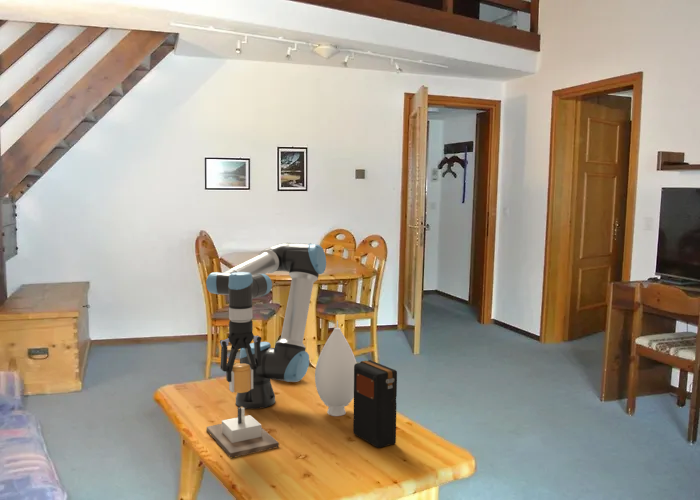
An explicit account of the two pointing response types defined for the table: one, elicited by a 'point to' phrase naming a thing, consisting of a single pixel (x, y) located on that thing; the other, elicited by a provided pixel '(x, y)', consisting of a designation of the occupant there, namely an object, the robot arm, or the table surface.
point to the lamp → (335, 373)
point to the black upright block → (375, 403)
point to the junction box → (241, 427)
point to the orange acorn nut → (242, 378)
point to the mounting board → (242, 442)
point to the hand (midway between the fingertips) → (241, 389)
